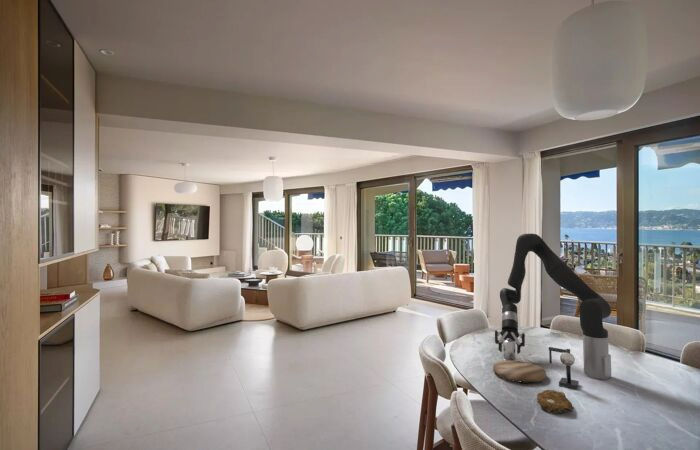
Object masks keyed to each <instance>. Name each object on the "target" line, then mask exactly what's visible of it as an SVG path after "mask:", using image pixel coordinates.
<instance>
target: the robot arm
mask: <svg viewBox="0 0 700 450" xmlns="http://www.w3.org/2000/svg"><path fill="white" fill-rule="evenodd" d="M529 252H533V253H534V254H535V255H536V256H537V257H539V259H540V261H542V263H543V266H544V270H545V272H546V274H547V275H548V276H549V277H550V278H551V279H552V280H553V281H554V283H556V285H558V286H559V287H560V288H563V290H565V291H567V292H569V293H571V294H573V295H574V296H576V298H578V299H579V300H580V301H581V302H580V304H579V308H578V310H579V313H578V314H579V315H578V316H579V324H580V325H579V327H580V328H581V330H582V349H583V352H582V353H583V355H582V356H583V374H584V376H587V377H590V378H592V379H595V380H603V381H607V380H608V379H610V378H612V355H611V354H610V351H609V332H608V330H607V329H606V328H605V327H604V325H603V323H604V322H603V319H607V318H609V317H610V316H611V313H612V307H611V305H610V303H609V302H608V301H607V300H606V299H605V298H604V297H602V296H601V295H599V294H598V292H596V291H595V290H594V289H592V288H591V287H590V286H589V285H588V284H587V283H586V282H585V281H584V280H583V279H582V278H581V277H580V276H579V275H578V274H576V272H575V271H574V270H572V269H571V267H570V266H568V264H567V263H565V262H564V261H563V260H562V258H561V257H559V256H558V255H557V254H556V253H555V252H554V251H553V250H552V249H551V247H549V246H548V244H547V243H546V242H545V241H544V240H543V238H542V237H541V236H540V235H538V234H536V233H522V234H520V235H519V236H518V237H517V240H516V243H515V250H514V257H513V263H512V268H511V271H510V274H509V277H508V278H507V279H508V280H507V285H508V286H509V287H511V288H513V289H511V288H508V287H507V288H506V287H503V288H502V289H501V290H499V300H500V302H501V306H502V317H501V330H500V331H497V330H494V343H495V344H498V351H499V352H500V353H502V352H503V345H504V340H505V339H507V338H511V339H512V340H514V341H515V345H516V354H517V355H520V353H521V347H525V345H526V344H525V343H526V333H524V332H522V333H519V319H518V306H517V305H518V304H519V303H520V302H521V300H522V288H523V287H522V286H523V282H524V281H525V280H524V279H525V277H526V258H527V256H528V254H529ZM514 289H515V290H514ZM516 304H517V305H516ZM500 335H501V337H500V339H499V336H500ZM519 337H520V339H521V342H520V341H519V339H518V338H519Z"/></svg>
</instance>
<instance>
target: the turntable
mask: <svg viewBox="0 0 700 450" xmlns="http://www.w3.org/2000/svg"><path fill="white" fill-rule="evenodd" d="M492 367H493V372H494V373H495V375H498V376H499V377H501V378H503V377H504V378H503V379H505V378H506V379H505V380H508V379H510V380H509V381H511V380H514V381H513V382H515V381H521V382H520V383H522V382H533V383H538V382H542V381H544V380H545V379H546V378H547V372H546V370H545V369H544V368H543V367H541V366H539V365H536V364H533V363H529V362H526V361H521V360H517V361H502V360H501V361H497V362H495V363H494V364H493V366H492Z"/></svg>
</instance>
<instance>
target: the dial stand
mask: <svg viewBox="0 0 700 450" xmlns="http://www.w3.org/2000/svg"><path fill="white" fill-rule="evenodd" d="M548 351H549V353H548V354H549V355H548V356H549V357H548V358H549V360H548V361H549V364H551V365H552V362H553V360H552V352H556V353H560V354H561V355H560V357H559V360H560V362H561V363H562V364H563V365H564V366H565V369H566V370H565V371H566V372H565V373H566V375H565V376H566V377H560V378H561V379H560V380H559V381H558V386H559V387H562V386H564V388H567V387H568V389H571V390H577V389H578V387H579V386H580V385H579V384H580V381H579V380H577V379H572V369H571V366H572V365H574V363H575V360H576V359H575V357H574V355H573V353H571V349H570V348H565V349H564V348H558V347H552V346H549V347H548Z"/></svg>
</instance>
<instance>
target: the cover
mask: <svg viewBox="0 0 700 450" xmlns="http://www.w3.org/2000/svg"><path fill="white" fill-rule="evenodd" d="M516 354H517V353H516V343H515V341H514V340H512V339H511V338H507V339H505V340H504V342H503V357H502V359H503V360H504V361H518V358H517V357H516ZM502 359H501V360H502Z"/></svg>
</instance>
